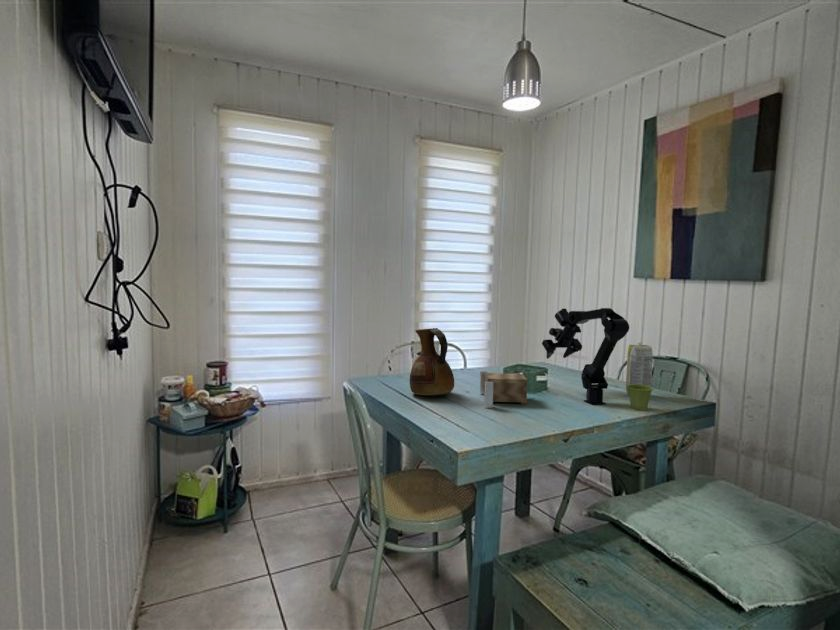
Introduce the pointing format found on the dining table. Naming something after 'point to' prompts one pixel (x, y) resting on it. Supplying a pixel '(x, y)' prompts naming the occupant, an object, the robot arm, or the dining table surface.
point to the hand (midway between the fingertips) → (555, 357)
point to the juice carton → (639, 365)
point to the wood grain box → (508, 387)
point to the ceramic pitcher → (431, 366)
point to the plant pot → (639, 396)
